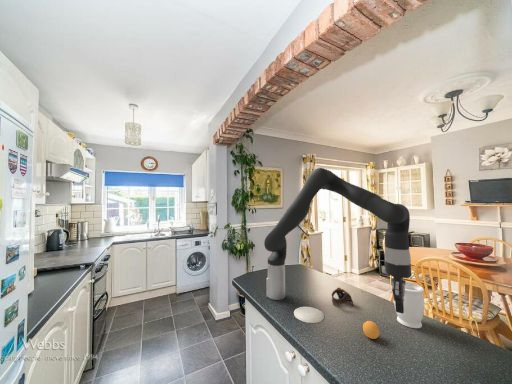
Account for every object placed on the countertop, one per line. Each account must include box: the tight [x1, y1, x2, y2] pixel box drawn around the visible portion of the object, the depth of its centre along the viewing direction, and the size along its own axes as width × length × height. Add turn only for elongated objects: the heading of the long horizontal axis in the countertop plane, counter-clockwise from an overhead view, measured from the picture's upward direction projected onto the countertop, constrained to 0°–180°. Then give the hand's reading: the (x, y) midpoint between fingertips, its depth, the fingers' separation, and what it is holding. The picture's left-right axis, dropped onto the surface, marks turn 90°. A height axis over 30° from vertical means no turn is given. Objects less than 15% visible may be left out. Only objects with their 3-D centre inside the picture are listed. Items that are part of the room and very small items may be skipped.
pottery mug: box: [331, 287, 354, 307], centre depth 101 cm, size 12×10×8 cm
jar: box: [392, 281, 425, 329], centre depth 85 cm, size 11×10×15 cm
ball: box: [362, 320, 381, 340], centre depth 76 cm, size 6×6×6 cm
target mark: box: [293, 306, 325, 324], centre depth 91 cm, size 13×13×1 cm
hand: (399, 311), depth 70 cm, fingers closed
